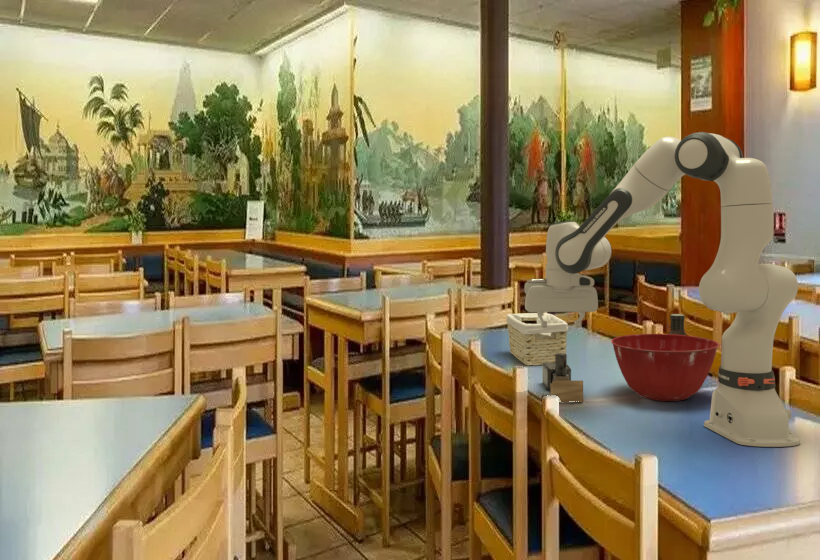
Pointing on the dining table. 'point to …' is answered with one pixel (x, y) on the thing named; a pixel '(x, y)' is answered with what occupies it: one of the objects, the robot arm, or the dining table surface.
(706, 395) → the dining table surface
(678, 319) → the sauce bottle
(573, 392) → the brown wooden block
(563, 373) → the dark grey upright block
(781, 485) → the dining table surface
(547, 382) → the sleeve
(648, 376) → the mixing bowl
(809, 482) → the dining table surface
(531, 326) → the storage basket
